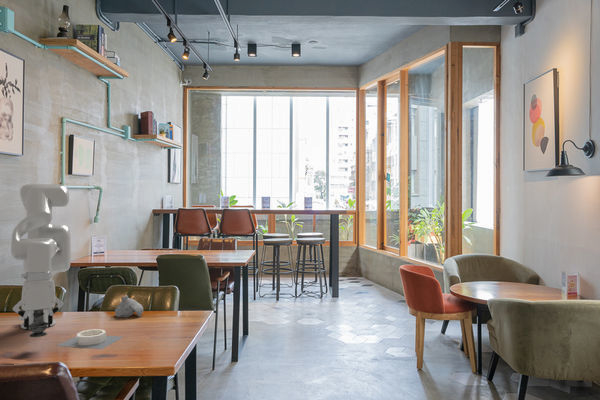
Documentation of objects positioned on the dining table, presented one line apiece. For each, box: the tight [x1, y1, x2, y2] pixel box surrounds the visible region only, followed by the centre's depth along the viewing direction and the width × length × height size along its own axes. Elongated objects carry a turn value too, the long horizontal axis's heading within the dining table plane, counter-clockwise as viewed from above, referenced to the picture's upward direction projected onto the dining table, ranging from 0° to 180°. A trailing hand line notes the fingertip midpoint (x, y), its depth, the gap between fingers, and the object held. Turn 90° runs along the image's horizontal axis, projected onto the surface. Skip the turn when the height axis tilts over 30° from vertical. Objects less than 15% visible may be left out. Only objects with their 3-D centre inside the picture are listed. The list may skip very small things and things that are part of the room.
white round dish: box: [76, 328, 107, 345], centre depth 164 cm, size 9×9×3 cm
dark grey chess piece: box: [29, 310, 48, 338], centre depth 154 cm, size 6×6×12 cm
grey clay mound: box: [114, 294, 144, 318], centre depth 205 cm, size 12×12×11 cm
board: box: [56, 335, 124, 350], centre depth 164 cm, size 18×14×1 cm
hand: (38, 327), depth 155 cm, fingers closed on dark grey chess piece, 5 cm apart
